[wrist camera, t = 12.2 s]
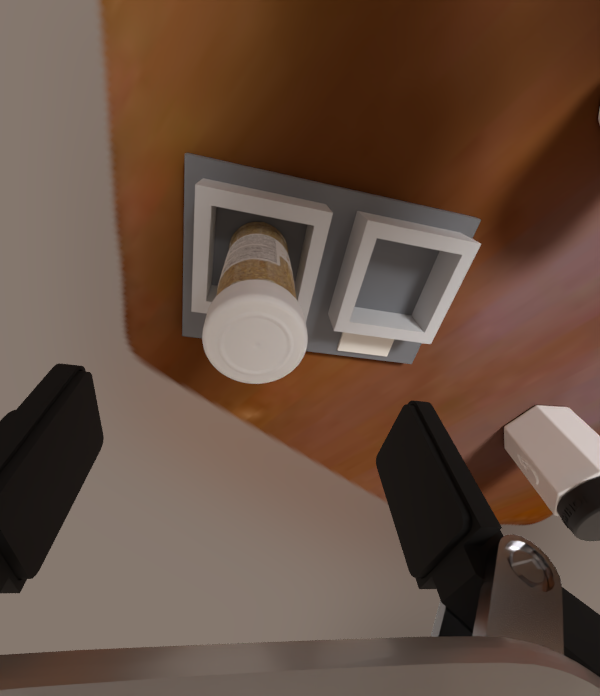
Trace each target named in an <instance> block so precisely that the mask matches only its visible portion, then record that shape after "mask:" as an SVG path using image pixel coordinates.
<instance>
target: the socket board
mask: <svg viewBox="0 0 600 696" xmlns="http://www.w3.org/2000/svg"><path fill="white" fill-rule="evenodd" d="M480 221H481V219H478V218H476V217H473V216H468V215H464V214H459V213H455V212H450V211H446V210H441V209H437V208H433V207H428V206H424V205H419V204H415V203H410V202H406V201H401V200H397V199H392V198H388V197H383V196H379V195H375V194H370V193H366V192H361V191H357V190H352V189H348V188H343V187H339V186H334V185H330V184H325V183H321V182H316V181H312V180H308V179H303V178H299V177H294V176H290V175H285V174H281V173H276V172H272V171H267V170H263V169H258V168H254V167H250V166H245V165H241V164H236V163H232V162H227V161H223V160H218V159H214V158H209V157H205V156H200V155H196V154H192V153H185V174H184V244H183V314H182V336H186V337H195V338H202V334H203V327H204V323H205V319H206V315H207V312H208V309H209V307H210V305H211V303H212V301H213V300H214V299H215V297H216V295H217V288H218V283H219V280H220V276H221V273H222V270H223V266H224V263H225V260H226V257H227V254H228V251H229V244H230V240H231V238H232V236H233V234H234V233H235V232H236V231H237V230H238V229H239V228H240V227H241V226H243V225H245V224H247V223H251V222H265V223H267V224H269V225H271V226H273V227H275V228H276V229H277V230H278V231H280V233H281V234H282V235H283V236H284V238H285V240H286V243H287V247H288V255H289V258H290V263H291V268H292V273H293V280H294V284H295V293H296V299H297V301H298V302H299V304H300V306H301V308H302V311H303V314H304V318H305V322H306V328H307V334H308V343H307V349H306V351H309V352H317V353H325V354H333V355H342V356H350V357H358V358H366V359H374V360H382V361H390V362H399V363H407V364H412V362H413V360H414V358H415V356H416V354H417V352H418V349H419V347H420V345H421V343H426V344H431V343H432V341H433V339H434V337H435V335H436V333H437V331H438V329H439V327H440V325H441V323H442V321H443V319H444V317H445V315H446V313H447V311H448V309H449V307H450V305H451V303H452V301H453V299H454V297H455V295H456V293H457V291H458V289H459V287H460V285H461V283H462V281H463V279H464V277H465V275H466V273H467V271H468V269H469V267H470V265H471V263H472V261H473V259H474V257H475V255H476V253H477V251H478V249H479V247H480V245H481V243H479V242H477V241H475V240H473V239H472V238H473V236H474V234H475V232H476V230H477V228H478V226H479V223H480Z"/></svg>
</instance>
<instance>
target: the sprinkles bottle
mask: <svg viewBox="0 0 600 696" xmlns="http://www.w3.org/2000/svg"><path fill="white" fill-rule="evenodd" d="M202 342H203V347H204V351H205V353H206V356H207V358H208V359H209V361H210V362H211V364H212V365H213V366H214V367H215V368H216V369H217V370H218V371H219V372H221V373H222V374H224V375H225V376H227V377H229V378H231V379H233V380H236V381H239V382H243V383H250V384H261V383H268V382H272V381H275V380H278V379H280V378H282V377H284V376H286V375H287V374H289V373H290V372H292V371H293V370H294V369H295V368H296V367H297V366H298V364H299V363H300V362H301V360H302V358H303V357H304V354H305V352H306V349H307V343H308V334H307V328H306V322H305V318H304V314H303V311H302V308H301V306H300V304H299V302H298V301H297V299H296V293H295V284H294V280H293V273H292V268H291V263H290V258H289V255H288V247H287V243H286V240H285V238H284V236H283V235H282V234H281V233H280V231H278V230H277V229H276V228H275V227H273V226H271V225H269V224H267V223H265V222H251V223H247V224H245V225H243V226H241V227H240V228H239V229H238V230H237V231H236V232H235V233H234V234H233V236H232V238H231V240H230V244H229V251H228V254H227V257H226V260H225V263H224V266H223V270H222V273H221V276H220V280H219V283H218V288H217V295H216V297H215V299H214V300H213V301H212V303H211V305H210V307H209V309H208V312H207V315H206V319H205V323H204V327H203V334H202Z"/></svg>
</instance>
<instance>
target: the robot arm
mask: <svg viewBox="0 0 600 696" xmlns="http://www.w3.org/2000/svg"><path fill="white" fill-rule="evenodd" d="M102 444H103V432H102V426H101V421H100V416H99V411H98V405H97V400H96V395H95V389H94V384H93V379H92V375H91V373H90V372H86V371H85V368H84V367H83V366H77V365H68V364H57V365H55V366H54V367H53V368H52V369H51V370H50V371H49V373H48V374H47V375H46V376H45V377H44V378H43V380H42V381H41V382H40V383H39V384H38V385H37V386H36V388H35V389H34V390H33V391H32V392H31V393H30V395H29V396H28V397H27V398H26V399H25V400H24V401H23V403H22V404H21V405H20V406H19V407H18V408H17V410H14V411H11V412H9V413H8V414H7V415H6V416H5V417H4V418H3V419H2V420H1V421H0V593H20V591H21V590H22V588H23V586H24V584H25V582H26V580H27V579H31V578H33V577H34V576H35V575H36V574H37V573H38V571H39V569H40V568H41V566H42V564H43V562H44V560H45V558H46V556H47V554H48V552H49V550H50V548H51V546H52V544H53V542H54V540H55V538H56V536H57V534H58V532H59V530H60V528H61V526H62V524H63V522H64V520H65V519H66V517H67V515H68V513H69V511H70V509H71V506H72V504H73V503H74V501H75V499H76V497H77V495H78V493H79V491H80V489H81V487H82V485H83V483H84V481H85V479H86V477H87V475H88V473H89V471H90V469H91V467H92V465H93V463H94V461H95V460H96V457H97V456H98V454H99V452H100V450H101V447H102ZM376 466H377V469H378V472H379V476H380V479H381V482H382V485H383V489H384V492H385V495H386V498H387V501H388V505H389V508H390V511H391V514H392V517H393V521H394V524H395V527H396V530H397V534H398V537H399V540H400V543H401V547H402V550H403V553H404V555H405V559H406V563H407V566H408V569H409V572H410V574H411V575H412V576H413V577H415V578H416V581H417V584H418V587H419V589H437V591H438V594H439V597H440V599H441V600H440V604H439V607H438V611H437V615H436V619H435V623H434V626H433V630H432V633H431V637H404V638H403V637H402V638H374V639H343V640H315V641H289V642H263V643H237V644H212V645H190V646H189V645H188V646H165V647H142V648H121V649H120V648H119V649H98V650H97V649H96V650H75V651H58V652H42V653H26V654H9V655H0V696H600V615H599V614H598V613H596V612H595V611H594V610H592V609H591V608H590V607H588V606H587V605H586V604H584V603H583V602H582V601H580V600H579V599H577V598H576V597H575V596H573V595H572V594H571V593H569V592H568V591H567V590H565V589H564V588H563V587H562V584H561V579H560V576H559V574H558V572H557V570H556V567H555V566H554V565H553V563H552V562H551V560H550V559H549V557H548V556H547V555H546V554H545V553H544V552H543V551H542V550H541V549H540V548H539V547H537V546H536V545H535V544H533V543H532V542H531V541H529V540H527V539H525V538H523V537H522V536H518V535H514V534H510V535H505V536H503V534H502V533H501V531H500V529H501V528H502V527H501V525H500V524H499V522H498V520H497V518H496V517H495V515H494V513H493V511H492V510H491V508H490V506H489V504H488V503H487V501H486V499H485V497H484V496H483V494H482V492H481V490H480V489H479V487H478V485H477V483H476V482H475V480H474V478H473V476H472V475H471V473H470V471H469V469H468V468H467V466H466V464H465V462H464V461H463V459H462V457H461V455H460V453H459V452H458V450H457V448H456V446H455V445H454V443H453V441H452V439H451V438H450V436H449V434H448V432H447V431H446V429H445V427H444V425H443V424H442V422H441V420H440V418H439V417H438V415H437V413H436V411H435V410H434V408H433V406H432V405H431V404H430V403H429V402H421V401H410V402H409V403H408V404H407V405H404V406H403V408H402V410H401V411H400V413H399V415H398V417H397V419H396V421H395V423H394V425H393V426H392V428H391V430H390V432H389V434H388V436H387V438H386V440H385V441H384V443H383V445H382V447H381V449H380V451H379V453H378V455H377V458H376Z"/></svg>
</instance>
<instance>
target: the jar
mask: <svg viewBox="0 0 600 696" xmlns="http://www.w3.org/2000/svg"><path fill="white" fill-rule="evenodd" d="M504 448H505V450H506V451H507V452H508V454H509V455H510V456H511V458H512V459H513V460H514V462H515V463H516V464H517V466H518V467H519V468H520V470H521V471H522V472H523V474H524V475H525V476H526V478H527V479H528V480H529V482H530V483H531V484H532V486H533V487H534V488H535V490H536V491H537V492H538V494H539V495H540V496H541V498H542V499H543V500H544V502H545V503H546V504H547V506H548V507H549V508H550V510H551V511H552V512H553V514H554V515H556V516H560V517H561V518H562V520H563V522H564V524H565V525H566V526H567V528H569V529H570V530H571V531H572V533H573V534H574V535H575V536H576V537H577V538H579V539H581V540H585V541H599V540H600V436H599V435H598V434H597V433H596V432H595V431H594V430H593V429H592V428H590V427H589V426H588V425H587V424H586V423H585V422H584V421H583V420H582V419H581V418H580V417H578V416H577V415H576V414H575V413H574V412H573V411H572V410H571V409H570V408H568V407H559V406H542V405H535V406H534V407H532V408H531V409H529V410H528V411H526V412H525V413H523V414H522V415H520V416H519V417H517V418H516V419H514V420H513V421H511V422H510V423H508V424H507V425H505V426H504Z"/></svg>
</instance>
